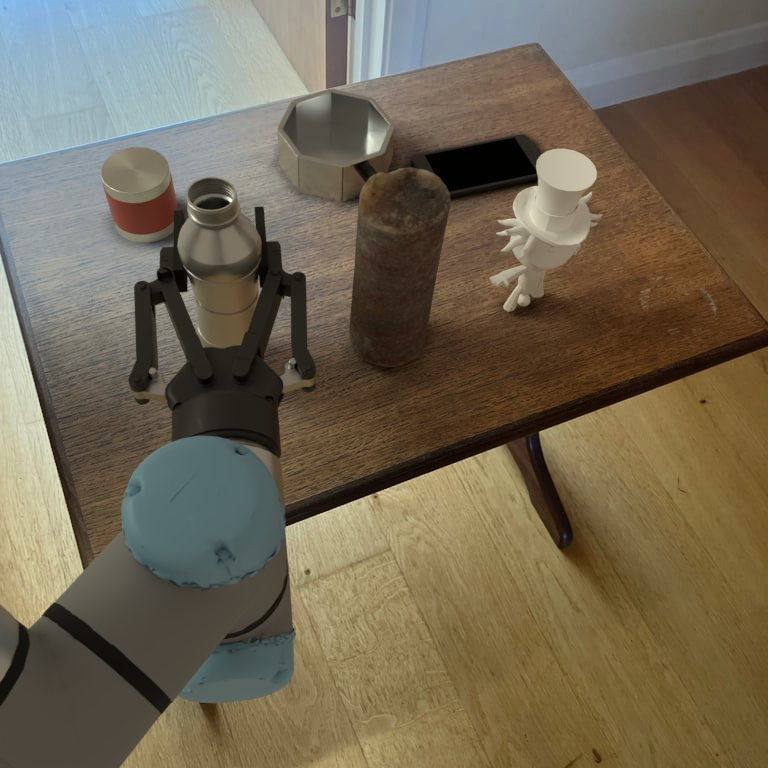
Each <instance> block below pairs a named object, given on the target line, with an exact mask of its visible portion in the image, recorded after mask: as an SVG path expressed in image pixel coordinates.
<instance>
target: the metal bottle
mask: <svg viewBox="0 0 768 768" xmlns="http://www.w3.org/2000/svg"><path fill="white" fill-rule="evenodd" d="M185 192H186V193H185V199H186V210H187V216H188V217H187V218H186V219H185V223H184V225H183V226H182V228H181V230H180V233H179V238H178V244H177V247H178V252H179V255H180V259H181V261H182V263H183V266H184V268H185V270H186V273H187V275H188V280H189V282H190V286H191V289H192V293H193V298H194V301H195V313H196V315H195V316H196V320H195V327H194V328H195V331H196V333H197V335H198V336H199V339H200V341H201V344H202V346H203V348H204V347H216V348H227V347H230V346H235V345H241V343H242V340H243V338H244V335H245V332H247V331H248V328H249V325H250V322H251V319H252V316H253V313H254V310H255V307H256V304H257V301H258V298H259V295H260V293H259V291H260V290H259V289H260V282H259V272H258V267H259V263H260V260H261V246H262V242H261V238H260V235H259V233H258V231H257V229H256V225H255V224H254V223H253V221H252V220H251V219H250V218H249V217H247V216H246V215H245V214H244V213H242V211H241V204H240V201H239V199H238V192H237V190H236V188H235V186H234V185H233V183H231V182H230V181H229V180H227V179H225V178H222V177H218V176H205V177H200V178H198V179H195V180H194V181H193V182H192V183H191V184H189V185H188V187H187V189H186V191H185ZM269 343H270V340H269V341H268V344H267V348H266V351H265V355H266V354H267V352H268V347H269ZM265 355H264V357H265Z"/></svg>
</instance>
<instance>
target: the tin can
mask: <svg viewBox="0 0 768 768" xmlns="http://www.w3.org/2000/svg"><path fill="white" fill-rule="evenodd" d="M100 178H101V179H100V180H101V181H102V187H103V191H104V194H105V199H106V201H107V204H108V207H109V212H110V214H111V217H112V220H113V223H114V226H115V228H116V231H117V232H118V234H119V235H121V237H122V238H124V239H126V240H128V241H131V242H134V243H140V244H148V243H149V244H150V243H155V242H158V241H161V240H163V239H165V238H167V237H169V236H170V235H171V234H173V233H174V211H175V210H179V205H178V201H177V196H176V191H175V187H174V186H175V185H174V181H173V176H172V173H171V170H170V164H169V162H168V159H166V157H165V156H164V155H163V154H162V153H160V152H159V151H157V150H155V149H152V148H149V147H144V146H143V147H142V146H135V147H126V148H123V149H119V150H118V151H116V152H114V153H112V154H111V155H109V156H108V157H107V158H106V159H105V160H104V161H103V163H102V165H101V167H100Z"/></svg>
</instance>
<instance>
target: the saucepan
mask: <svg viewBox="0 0 768 768" xmlns="http://www.w3.org/2000/svg"><path fill="white" fill-rule="evenodd" d="M276 131H277V149H278V164H279V167H280V168H281V169H282V170H283V172H284V174H285V175H286V176H287V178H288V179H289V180H290V182H291V183H292V185H293V186H294V187H295V189H296V191H298V192H299V193H302V194H306V195H311V196H315V197H319V198H323V199H326V200H331V201H336V202H339V203H342V202H343V203H344V202H347V201H349V200H353V199H355V198H359V197H360V193H361V190H362V187H363V185H364V184H365V183H366V182H367V181H368V179H369V178H370V177H371V176H373V175H374V174H377V173H378V172H383V173H389V169H390V166H391V164H392V161H393V154H394V145H395V132H396V123H395V122H394V120H392V119H391V117H390V116H389V115H388V114H387V113H386V111H385V110H384V109H383V107H382V106H381V105H380V104H379V103H378V101H376V100H375V98H373V97H370V96H366V95H363V94H357V93H353V92H348V91H344V90H339V89H335V88H327V89H324V90H321V91H318V92H315V93H312V94H309V95H305V96H302V97H299V98H296V99H292V101H290V102H289V105H288V107H287V109H286V110H285V112H284V115H283V116H282V118H281V120H280V122H279V124H278V126H277V128H276Z"/></svg>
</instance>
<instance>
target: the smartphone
mask: <svg viewBox="0 0 768 768" xmlns="http://www.w3.org/2000/svg"><path fill="white" fill-rule="evenodd" d="M541 154H542V153H541V152H540V151H539V150H538V148H537V147H536V145H535V144H534V142H533V141H532V139H531V138H530V137H529V136H528V135H526V134H515V135H511V136H506V137H501V138H494V139H490V140H484V141H480V142H479V141H478V142H475V143H470V144H464V145H459V146H454V147H449V148H443V149H438V150H433V151H429V152H424V153H419V154H416V155H414V156H413V157H412V158H411V161H410V162H411V163H410V165H411V167H412V168H417V169H423V170H427V171H429V172H432V173H433V174H435V175H437V176H438V177H440V179H441V180H442V182H443V183H444V184H445V185H446V186H447V188H448V191H449V192H450V199H453V198H458V197H462V196H466V195H467V196H468V195H471V194H472V195H473V194H476V193H481V192H486V191H490V190H496V189H499V188H505V187H510V186H515V185H519V184H525V183H528V182H529V183H530V182H534V181H538V175H537V170H536V163H537V160H538V158H539V157H540V155H541Z"/></svg>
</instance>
